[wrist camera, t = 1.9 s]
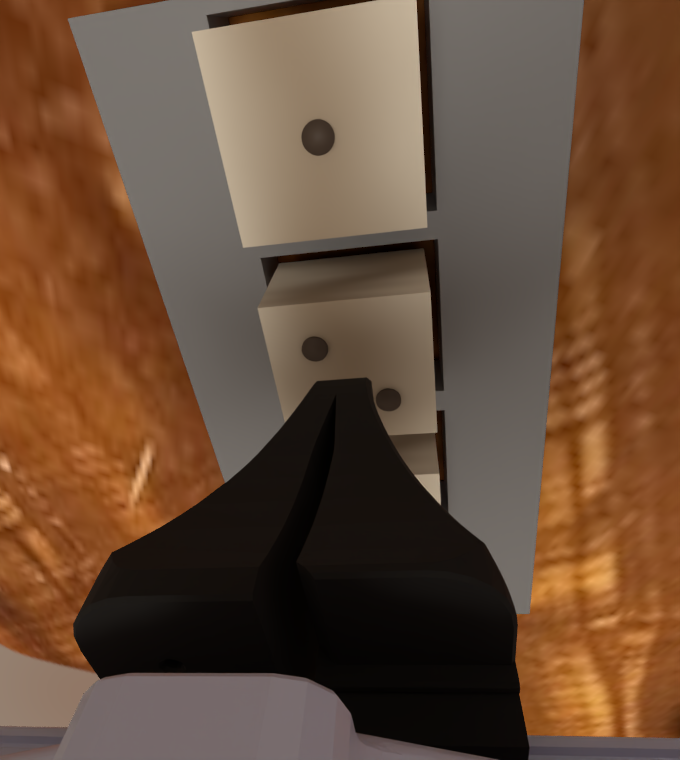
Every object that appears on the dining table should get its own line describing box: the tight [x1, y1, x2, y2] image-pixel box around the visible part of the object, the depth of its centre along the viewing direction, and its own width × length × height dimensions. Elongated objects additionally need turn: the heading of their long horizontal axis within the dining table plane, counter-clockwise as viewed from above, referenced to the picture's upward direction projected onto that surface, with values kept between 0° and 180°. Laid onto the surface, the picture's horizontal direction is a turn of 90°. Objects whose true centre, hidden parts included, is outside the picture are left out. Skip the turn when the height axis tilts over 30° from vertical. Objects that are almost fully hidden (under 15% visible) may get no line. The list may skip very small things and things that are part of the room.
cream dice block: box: [258, 248, 437, 435], centre depth 16 cm, size 4×4×3 cm
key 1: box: [192, 0, 427, 248], centre depth 13 cm, size 4×4×3 cm
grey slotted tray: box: [68, 0, 584, 614], centre depth 19 cm, size 12×24×2 cm, turn 8°
